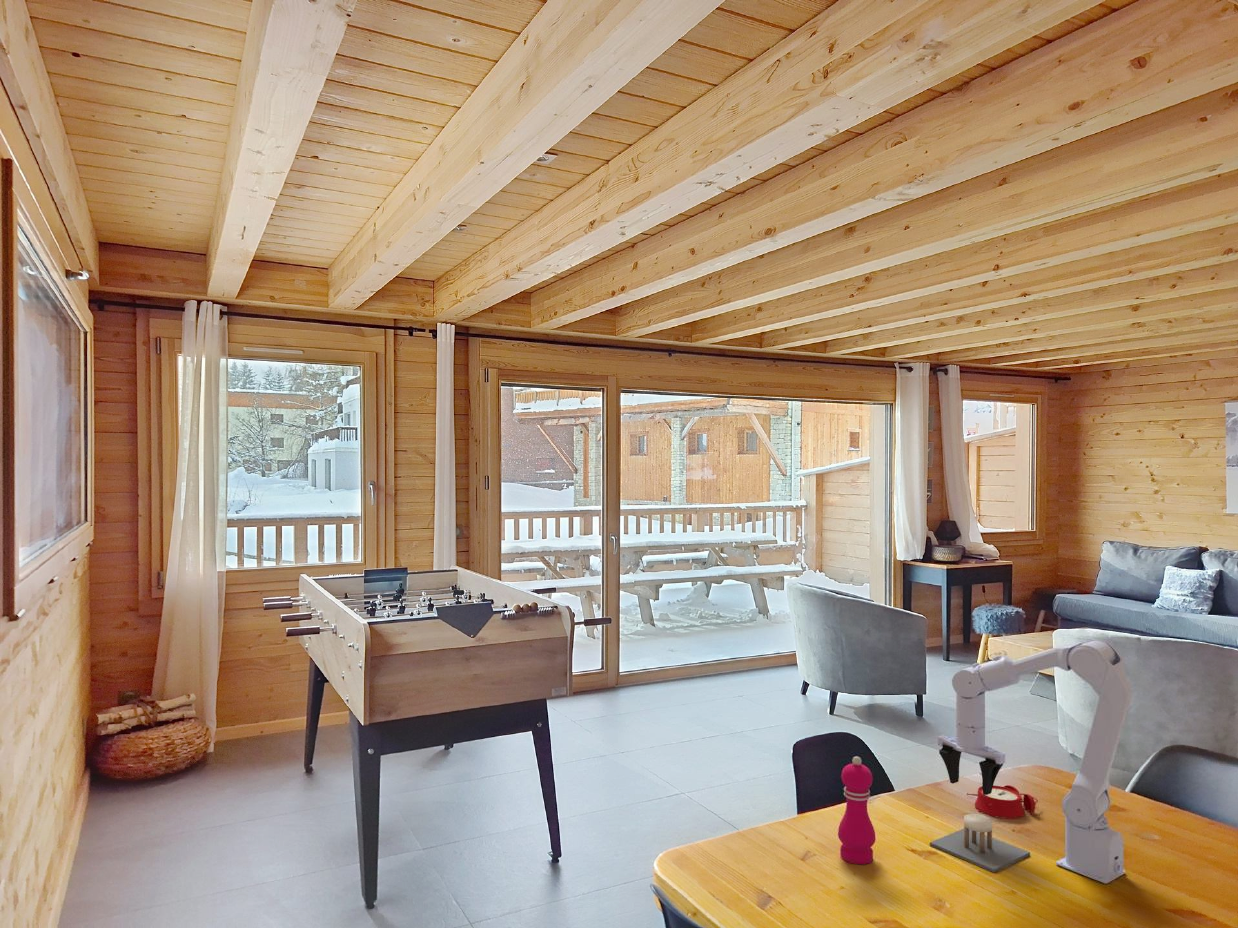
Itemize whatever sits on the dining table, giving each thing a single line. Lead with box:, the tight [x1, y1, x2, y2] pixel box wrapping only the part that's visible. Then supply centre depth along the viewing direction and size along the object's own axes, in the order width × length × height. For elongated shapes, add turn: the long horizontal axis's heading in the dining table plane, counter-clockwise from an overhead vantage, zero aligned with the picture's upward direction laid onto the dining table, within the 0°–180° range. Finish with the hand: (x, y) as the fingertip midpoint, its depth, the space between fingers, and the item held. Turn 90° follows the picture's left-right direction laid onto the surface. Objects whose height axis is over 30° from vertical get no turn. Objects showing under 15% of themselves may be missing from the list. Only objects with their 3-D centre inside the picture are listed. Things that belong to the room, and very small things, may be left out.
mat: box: [929, 828, 1031, 873], centre depth 166 cm, size 14×13×1 cm
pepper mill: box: [837, 756, 876, 865], centre depth 163 cm, size 7×7×20 cm
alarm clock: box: [966, 784, 1039, 819], centre depth 187 cm, size 10×6×15 cm
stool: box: [963, 813, 993, 854], centre depth 166 cm, size 5×5×6 cm
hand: (970, 787), depth 175 cm, fingers open, 7 cm apart
